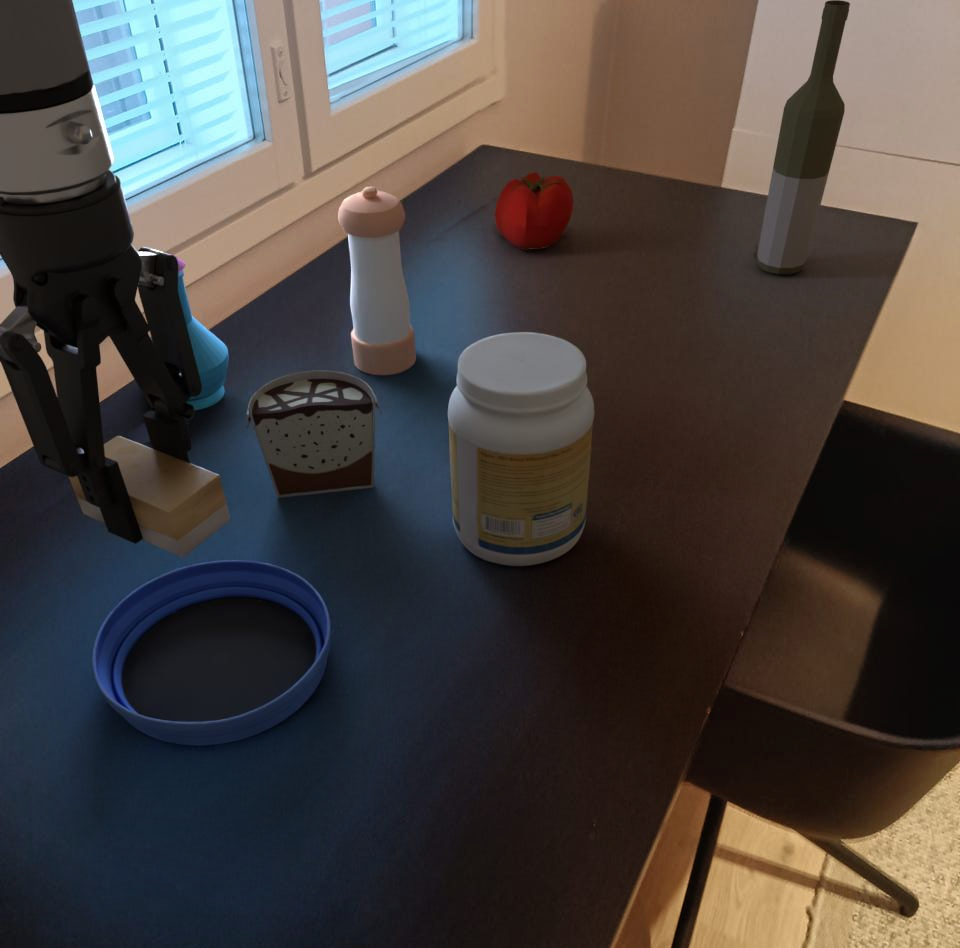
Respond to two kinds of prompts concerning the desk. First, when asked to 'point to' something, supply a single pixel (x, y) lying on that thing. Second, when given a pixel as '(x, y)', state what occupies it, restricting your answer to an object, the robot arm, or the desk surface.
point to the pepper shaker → (377, 283)
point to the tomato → (534, 210)
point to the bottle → (804, 154)
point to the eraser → (165, 496)
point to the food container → (316, 432)
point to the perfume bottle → (204, 353)
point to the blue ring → (213, 651)
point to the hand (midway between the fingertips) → (154, 513)
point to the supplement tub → (520, 447)
